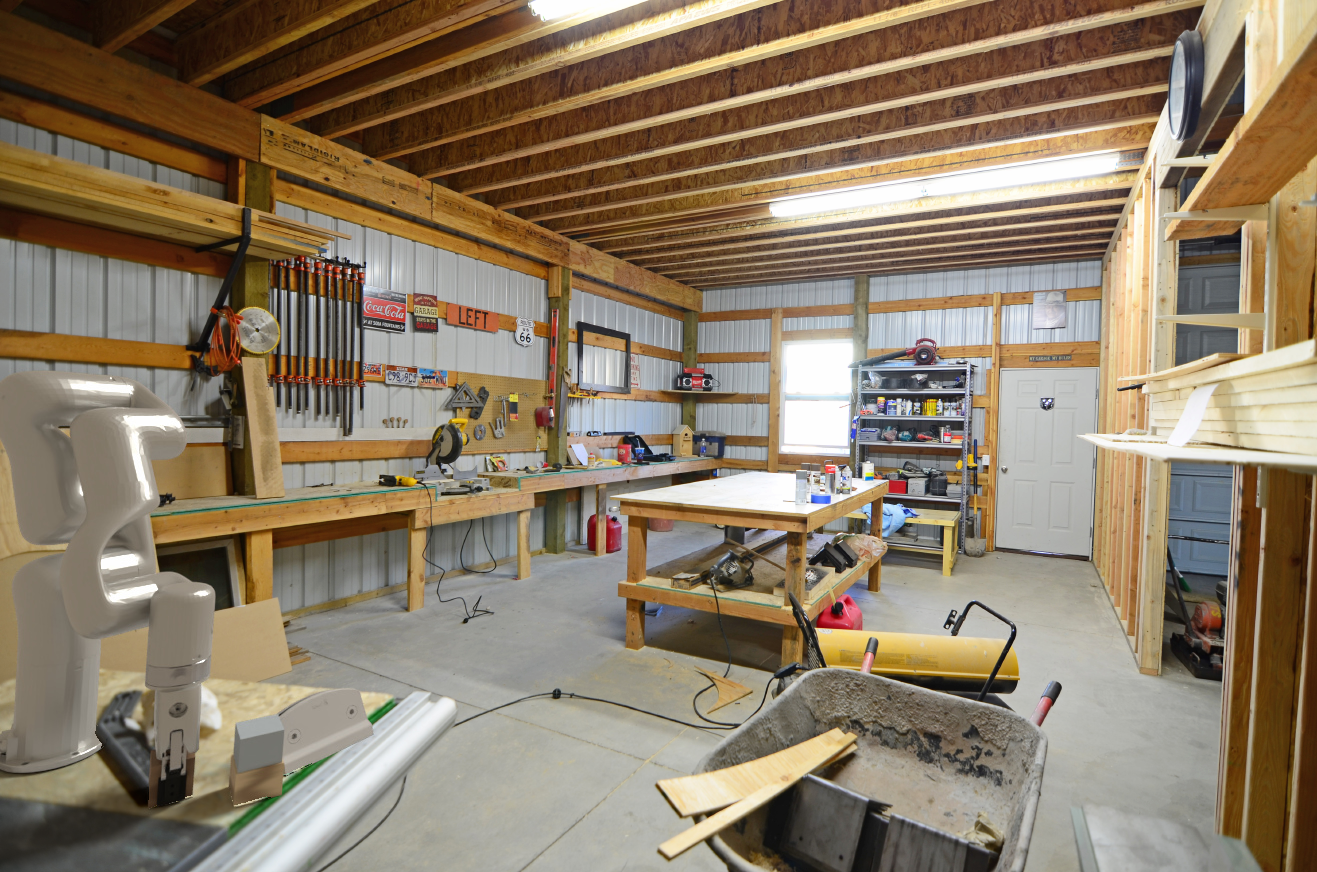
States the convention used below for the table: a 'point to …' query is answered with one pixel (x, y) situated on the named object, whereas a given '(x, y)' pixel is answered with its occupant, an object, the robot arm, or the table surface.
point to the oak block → (255, 782)
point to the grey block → (258, 743)
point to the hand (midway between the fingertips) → (170, 790)
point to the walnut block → (156, 773)
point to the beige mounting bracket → (322, 726)
